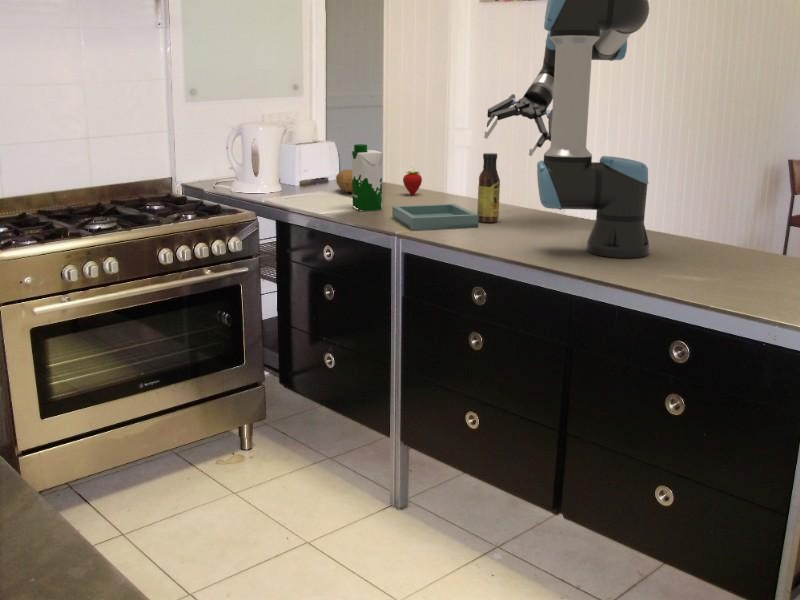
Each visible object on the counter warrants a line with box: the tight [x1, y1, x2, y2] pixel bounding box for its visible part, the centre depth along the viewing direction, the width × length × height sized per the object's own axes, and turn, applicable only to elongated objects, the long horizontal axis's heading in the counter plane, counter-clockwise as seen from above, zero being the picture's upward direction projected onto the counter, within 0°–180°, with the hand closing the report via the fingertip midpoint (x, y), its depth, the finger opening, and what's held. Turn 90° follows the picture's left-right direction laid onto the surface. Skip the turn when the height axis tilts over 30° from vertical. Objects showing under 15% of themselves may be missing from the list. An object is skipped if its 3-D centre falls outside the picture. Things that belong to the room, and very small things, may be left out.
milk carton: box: [350, 143, 384, 211], centre depth 271 cm, size 9×9×20 cm
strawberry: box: [402, 165, 423, 196], centre depth 299 cm, size 6×8×10 cm
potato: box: [336, 169, 352, 193], centre depth 304 cm, size 10×14×8 cm
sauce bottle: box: [476, 152, 501, 224], centre depth 253 cm, size 6×6×20 cm
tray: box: [391, 203, 479, 232], centre depth 252 cm, size 20×20×4 cm
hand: (507, 143), depth 238 cm, fingers open, 13 cm apart
